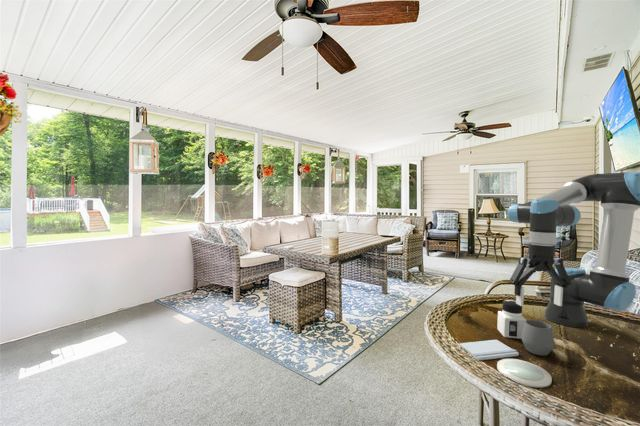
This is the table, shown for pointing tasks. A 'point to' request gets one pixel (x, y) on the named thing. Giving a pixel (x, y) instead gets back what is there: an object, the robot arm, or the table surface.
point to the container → (511, 320)
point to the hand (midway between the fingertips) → (538, 304)
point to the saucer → (524, 372)
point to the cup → (537, 337)
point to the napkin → (488, 349)
